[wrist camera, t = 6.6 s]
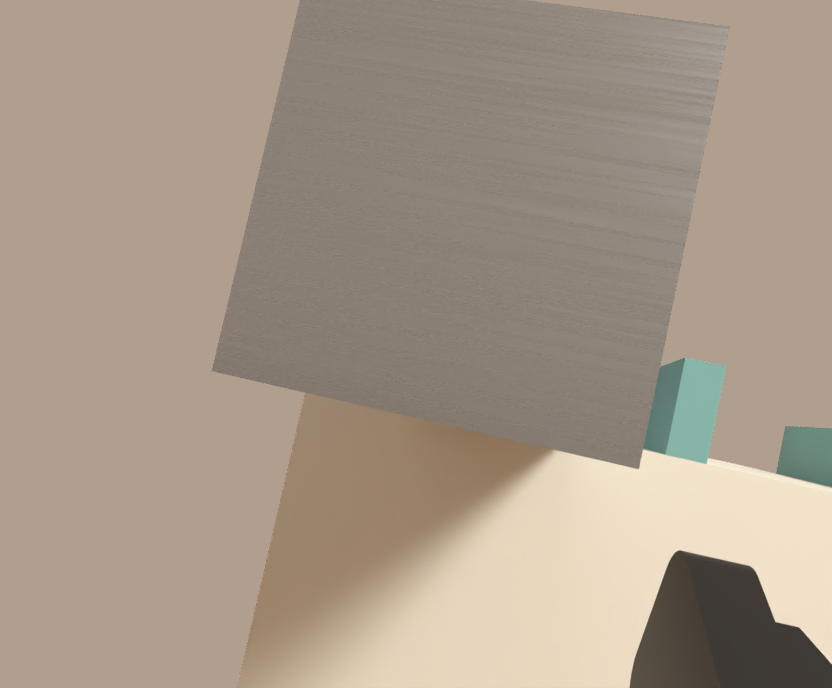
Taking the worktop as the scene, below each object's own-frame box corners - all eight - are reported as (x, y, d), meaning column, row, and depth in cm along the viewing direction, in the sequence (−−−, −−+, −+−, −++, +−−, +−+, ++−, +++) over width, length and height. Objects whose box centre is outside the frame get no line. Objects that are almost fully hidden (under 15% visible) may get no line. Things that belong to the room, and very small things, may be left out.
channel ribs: (1131, 559, 14) (1148, 451, 14) (665, 454, 15) (685, 357, 15) (796, 477, 32) (805, 430, 32) (595, 432, 33) (605, 387, 33)
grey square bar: (638, 470, 6) (729, 27, 6) (211, 371, 6) (306, -27, 7) (553, 423, 33) (569, 345, 33) (475, 405, 34) (491, 329, 34)
